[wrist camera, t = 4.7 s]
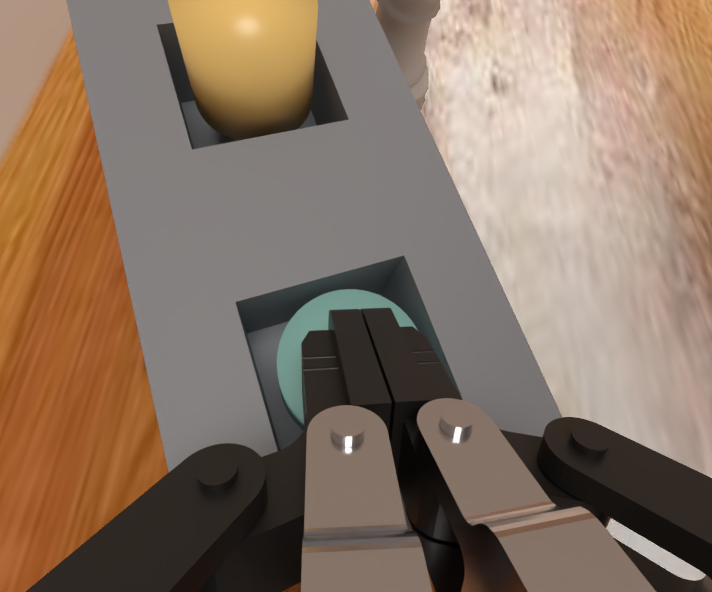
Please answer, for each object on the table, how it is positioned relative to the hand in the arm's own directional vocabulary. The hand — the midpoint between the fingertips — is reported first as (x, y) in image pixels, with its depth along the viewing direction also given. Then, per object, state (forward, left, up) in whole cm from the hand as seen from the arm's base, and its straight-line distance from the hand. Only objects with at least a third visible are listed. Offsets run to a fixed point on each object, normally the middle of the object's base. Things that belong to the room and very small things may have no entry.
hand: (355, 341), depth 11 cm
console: (0, -5, -8) cm, 9 cm away
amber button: (0, -10, -2) cm, 10 cm away
